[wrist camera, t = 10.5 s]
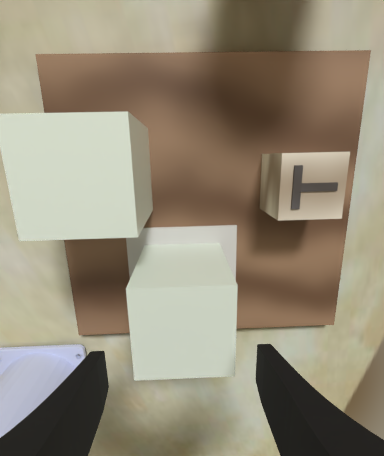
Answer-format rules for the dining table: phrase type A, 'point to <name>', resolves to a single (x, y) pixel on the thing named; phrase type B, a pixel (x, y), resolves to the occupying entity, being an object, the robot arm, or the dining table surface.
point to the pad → (184, 240)
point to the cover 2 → (182, 313)
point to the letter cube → (304, 185)
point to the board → (220, 167)
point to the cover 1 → (77, 174)
